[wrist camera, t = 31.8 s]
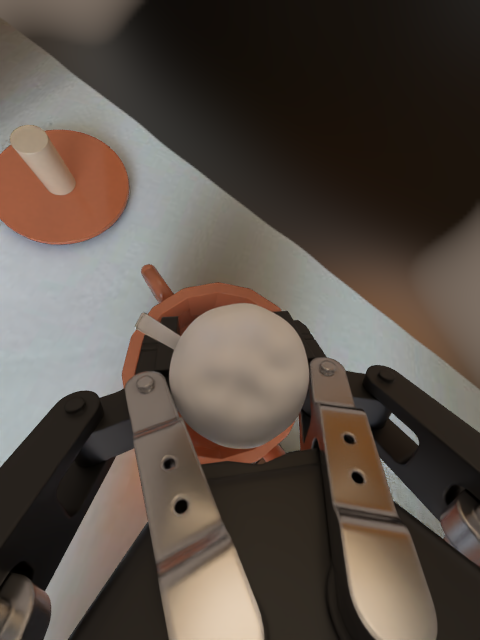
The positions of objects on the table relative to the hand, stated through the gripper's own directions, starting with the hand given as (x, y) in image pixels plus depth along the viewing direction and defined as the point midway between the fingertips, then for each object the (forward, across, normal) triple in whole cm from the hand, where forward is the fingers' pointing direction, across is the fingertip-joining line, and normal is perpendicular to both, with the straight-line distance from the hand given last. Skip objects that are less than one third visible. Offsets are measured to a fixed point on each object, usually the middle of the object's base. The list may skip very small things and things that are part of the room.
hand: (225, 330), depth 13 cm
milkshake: (+2, 0, +4) cm, 5 cm away
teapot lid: (+25, +15, -3) cm, 29 cm away
